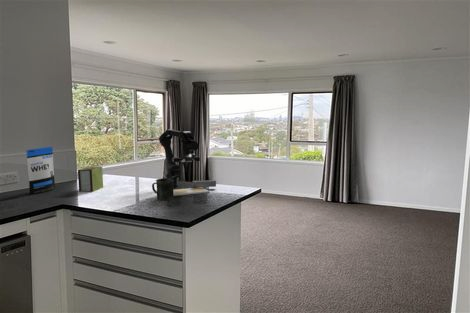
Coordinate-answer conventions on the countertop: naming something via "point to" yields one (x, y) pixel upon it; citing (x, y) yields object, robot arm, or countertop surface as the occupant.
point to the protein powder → (40, 170)
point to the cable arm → (204, 183)
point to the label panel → (190, 191)
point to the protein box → (90, 179)
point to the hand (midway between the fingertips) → (186, 171)
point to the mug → (164, 189)
